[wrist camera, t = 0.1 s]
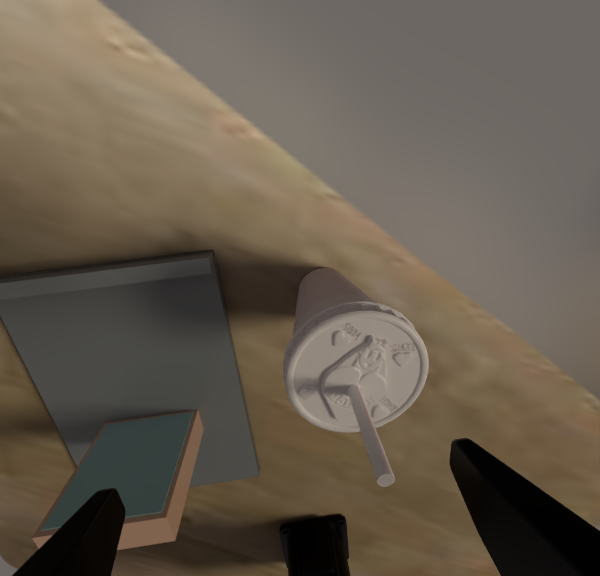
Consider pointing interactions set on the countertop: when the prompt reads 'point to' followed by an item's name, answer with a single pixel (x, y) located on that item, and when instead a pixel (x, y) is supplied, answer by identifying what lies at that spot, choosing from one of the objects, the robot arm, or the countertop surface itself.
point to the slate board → (134, 352)
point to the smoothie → (352, 362)
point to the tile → (135, 476)
